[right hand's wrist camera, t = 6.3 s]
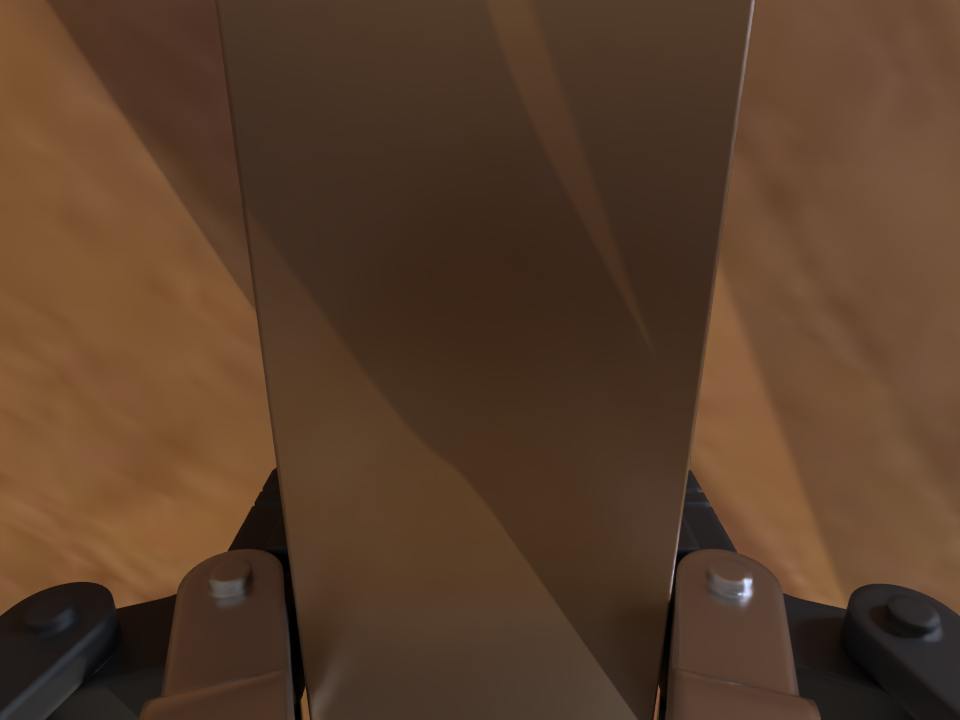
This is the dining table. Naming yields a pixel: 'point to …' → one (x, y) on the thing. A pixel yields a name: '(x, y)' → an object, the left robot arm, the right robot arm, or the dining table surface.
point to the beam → (483, 333)
